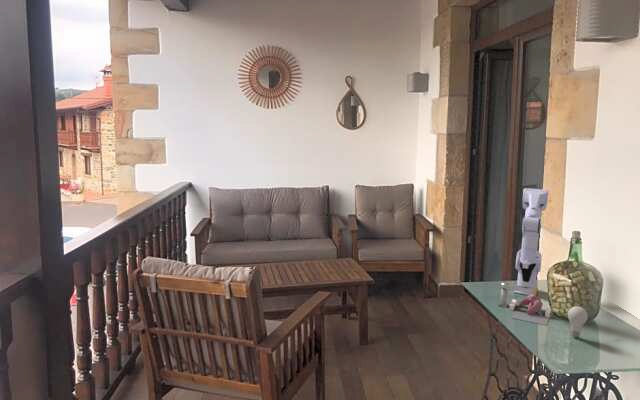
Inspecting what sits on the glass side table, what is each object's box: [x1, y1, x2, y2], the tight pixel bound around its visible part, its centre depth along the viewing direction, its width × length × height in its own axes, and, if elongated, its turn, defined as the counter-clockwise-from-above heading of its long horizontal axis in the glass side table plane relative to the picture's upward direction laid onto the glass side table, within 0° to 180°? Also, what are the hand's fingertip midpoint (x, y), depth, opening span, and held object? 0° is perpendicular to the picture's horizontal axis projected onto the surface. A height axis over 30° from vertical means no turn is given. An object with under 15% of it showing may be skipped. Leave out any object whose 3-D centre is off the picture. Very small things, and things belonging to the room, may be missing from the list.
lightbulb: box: [567, 306, 589, 339], centre depth 177 cm, size 6×6×11 cm
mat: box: [511, 310, 550, 326], centre depth 193 cm, size 8×12×1 cm, turn 61°
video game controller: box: [518, 294, 544, 314], centre depth 200 cm, size 10×5×7 cm, turn 179°
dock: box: [498, 288, 552, 318], centre depth 201 cm, size 7×19×7 cm, turn 61°
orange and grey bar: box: [500, 281, 538, 296], centre depth 201 cm, size 13×3×2 cm, turn 61°
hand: (526, 281), depth 204 cm, fingers closed
